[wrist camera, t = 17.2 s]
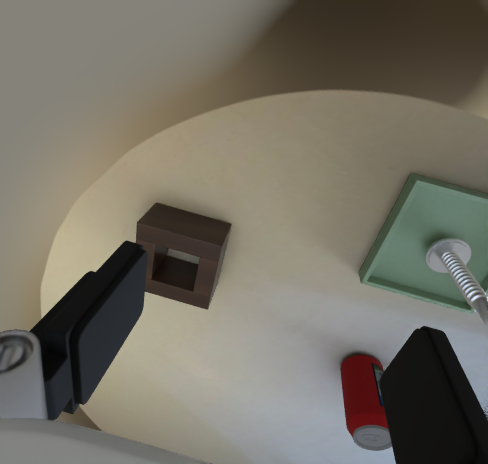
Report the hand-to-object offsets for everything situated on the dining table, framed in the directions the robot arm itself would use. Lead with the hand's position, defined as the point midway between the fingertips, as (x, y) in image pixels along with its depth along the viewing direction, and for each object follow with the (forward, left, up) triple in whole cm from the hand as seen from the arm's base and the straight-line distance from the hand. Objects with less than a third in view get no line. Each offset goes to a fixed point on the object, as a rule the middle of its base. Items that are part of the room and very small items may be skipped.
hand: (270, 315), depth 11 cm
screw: (+9, +22, -30) cm, 38 cm away
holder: (+20, -10, -30) cm, 38 cm away
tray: (+9, +22, -30) cm, 39 cm away
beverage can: (+34, +22, -31) cm, 51 cm away
